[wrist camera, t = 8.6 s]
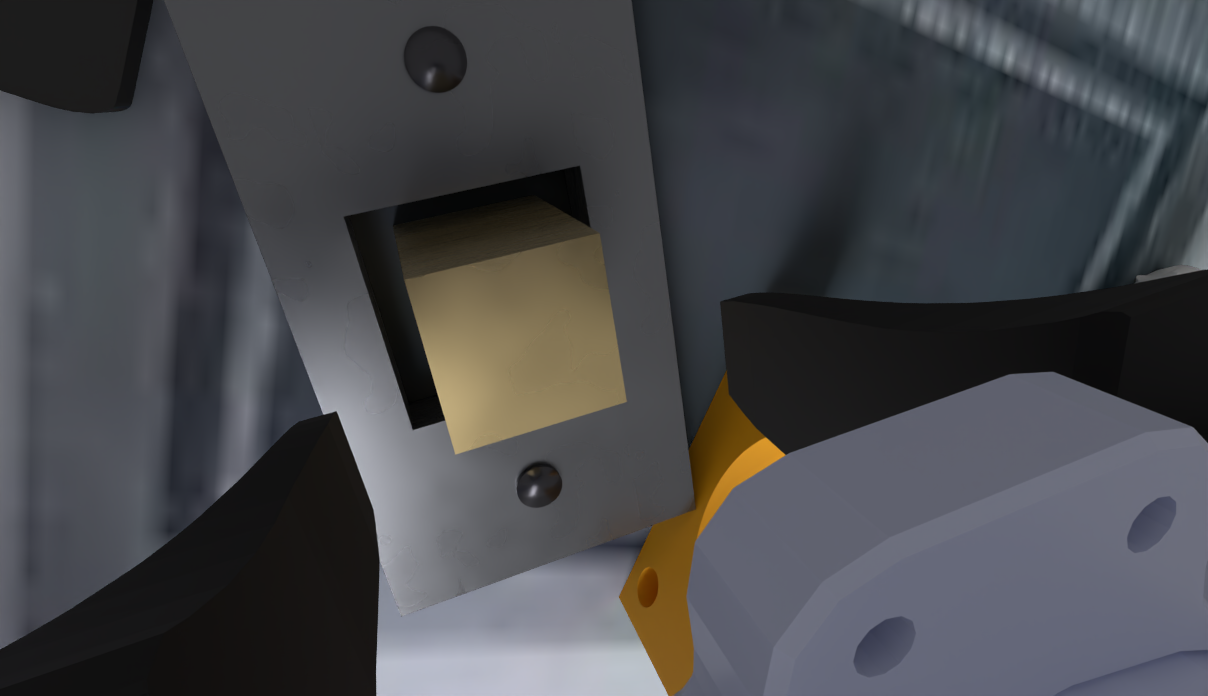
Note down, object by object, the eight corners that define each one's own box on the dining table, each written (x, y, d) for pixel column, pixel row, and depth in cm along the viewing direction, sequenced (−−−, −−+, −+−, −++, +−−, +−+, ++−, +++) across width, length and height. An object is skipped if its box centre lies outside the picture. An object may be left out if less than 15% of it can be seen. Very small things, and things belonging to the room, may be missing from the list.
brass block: (430, 357, 19) (455, 454, 14) (392, 225, 18) (404, 279, 13) (558, 322, 20) (626, 402, 15) (533, 194, 19) (600, 233, 13)
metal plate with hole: (398, 578, 22) (401, 621, 20) (164, -46, 14) (136, -66, 13) (673, 482, 24) (698, 512, 22) (593, -97, 17) (619, -119, 15)
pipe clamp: (707, 606, 27) (799, 743, 21) (617, 594, 25) (691, 740, 19) (841, 345, 25) (984, 419, 19) (751, 310, 23) (880, 381, 17)
